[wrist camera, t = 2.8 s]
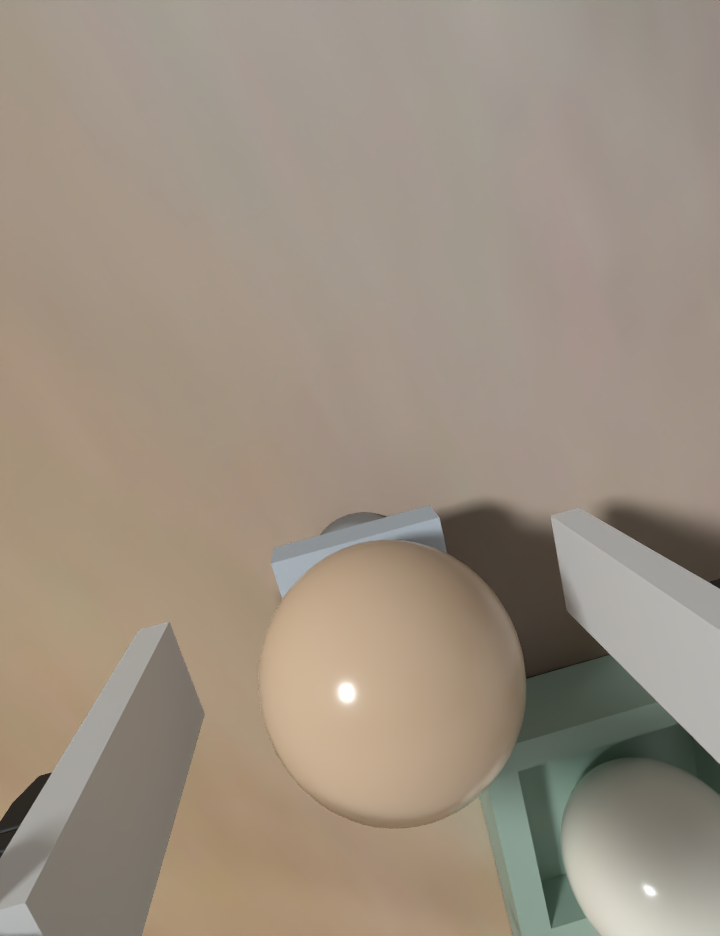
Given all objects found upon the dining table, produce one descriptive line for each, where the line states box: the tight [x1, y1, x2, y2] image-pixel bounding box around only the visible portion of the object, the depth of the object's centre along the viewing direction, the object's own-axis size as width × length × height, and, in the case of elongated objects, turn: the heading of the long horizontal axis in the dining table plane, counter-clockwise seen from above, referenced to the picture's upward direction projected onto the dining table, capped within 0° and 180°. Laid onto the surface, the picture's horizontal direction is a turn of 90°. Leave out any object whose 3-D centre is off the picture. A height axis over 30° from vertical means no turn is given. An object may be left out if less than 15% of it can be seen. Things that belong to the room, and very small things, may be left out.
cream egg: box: [561, 757, 720, 936], centre depth 15 cm, size 5×5×5 cm
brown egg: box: [258, 539, 526, 829], centre depth 11 cm, size 5×5×5 cm
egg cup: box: [271, 505, 447, 598], centre depth 15 cm, size 4×4×4 cm
